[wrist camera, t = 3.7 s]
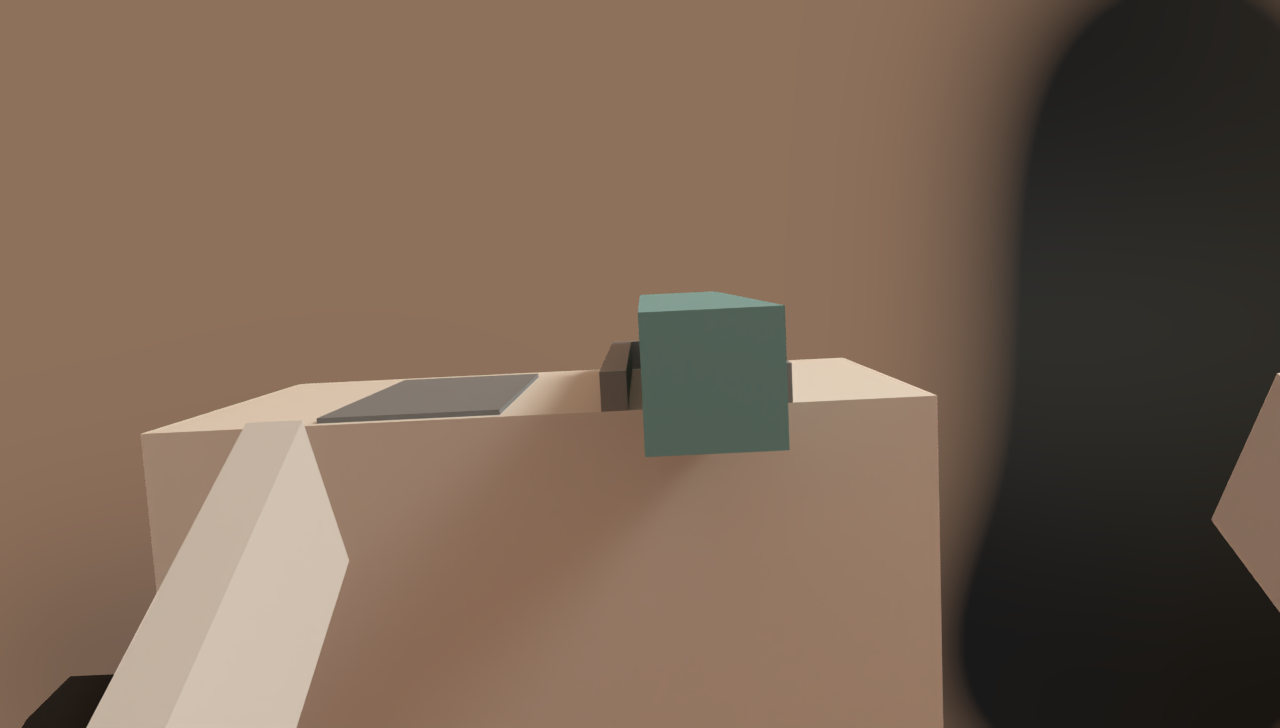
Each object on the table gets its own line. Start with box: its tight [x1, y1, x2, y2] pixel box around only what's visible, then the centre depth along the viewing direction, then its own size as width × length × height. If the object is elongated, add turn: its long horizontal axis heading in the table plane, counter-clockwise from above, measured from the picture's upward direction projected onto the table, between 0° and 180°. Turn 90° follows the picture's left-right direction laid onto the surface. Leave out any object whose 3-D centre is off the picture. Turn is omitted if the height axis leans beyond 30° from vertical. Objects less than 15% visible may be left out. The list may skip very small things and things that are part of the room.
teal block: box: [638, 291, 790, 457], centre depth 37 cm, size 24×4×4 cm, turn 0°
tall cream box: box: [141, 341, 943, 728], centre depth 44 cm, size 16×30×34 cm, turn 90°
